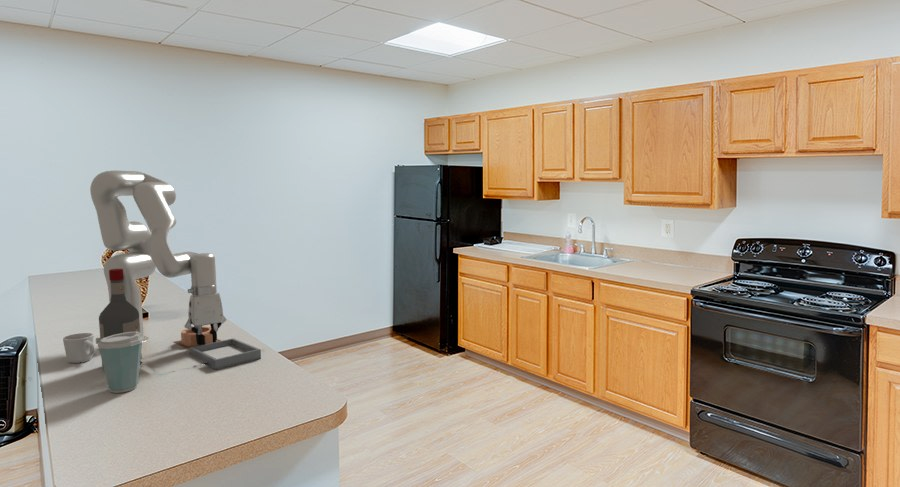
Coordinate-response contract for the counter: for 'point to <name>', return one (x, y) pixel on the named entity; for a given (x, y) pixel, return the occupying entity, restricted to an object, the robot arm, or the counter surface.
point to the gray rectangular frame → (230, 360)
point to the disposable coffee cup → (121, 360)
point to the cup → (79, 347)
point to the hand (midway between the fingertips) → (206, 343)
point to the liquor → (118, 310)
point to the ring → (190, 337)
